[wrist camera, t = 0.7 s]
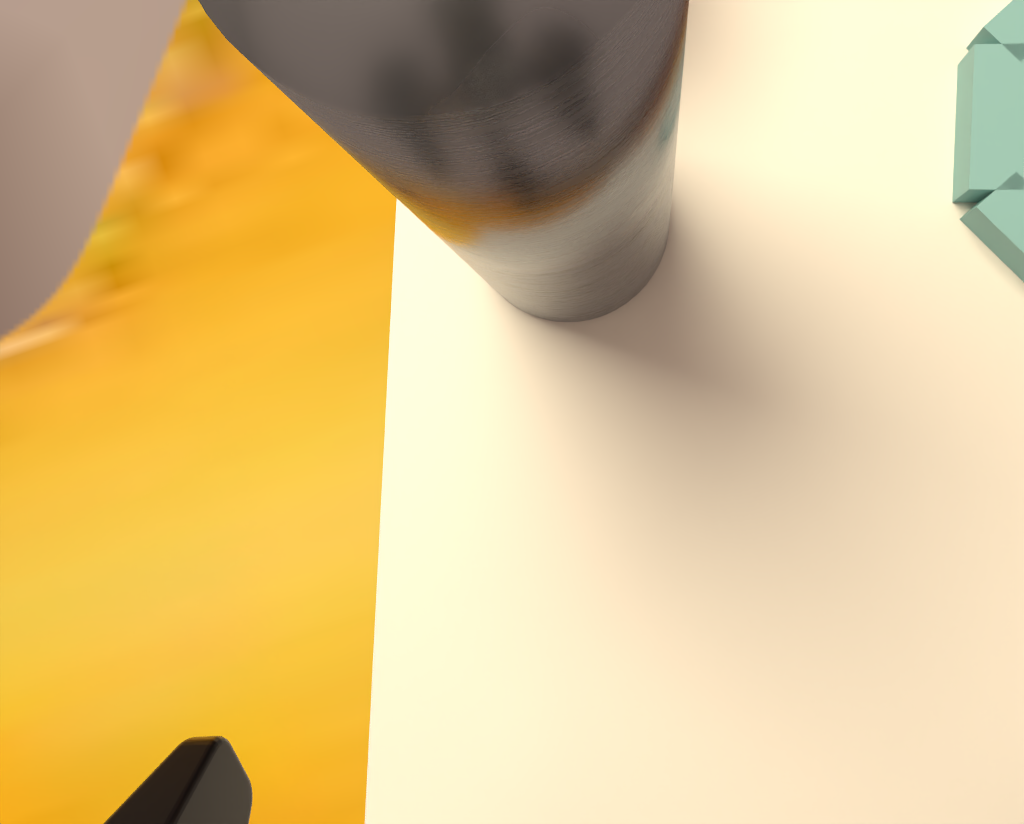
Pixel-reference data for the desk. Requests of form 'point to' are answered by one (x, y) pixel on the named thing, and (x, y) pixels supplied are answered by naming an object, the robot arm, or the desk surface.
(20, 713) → the desk surface
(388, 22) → the shiny metal cylinder
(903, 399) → the board
